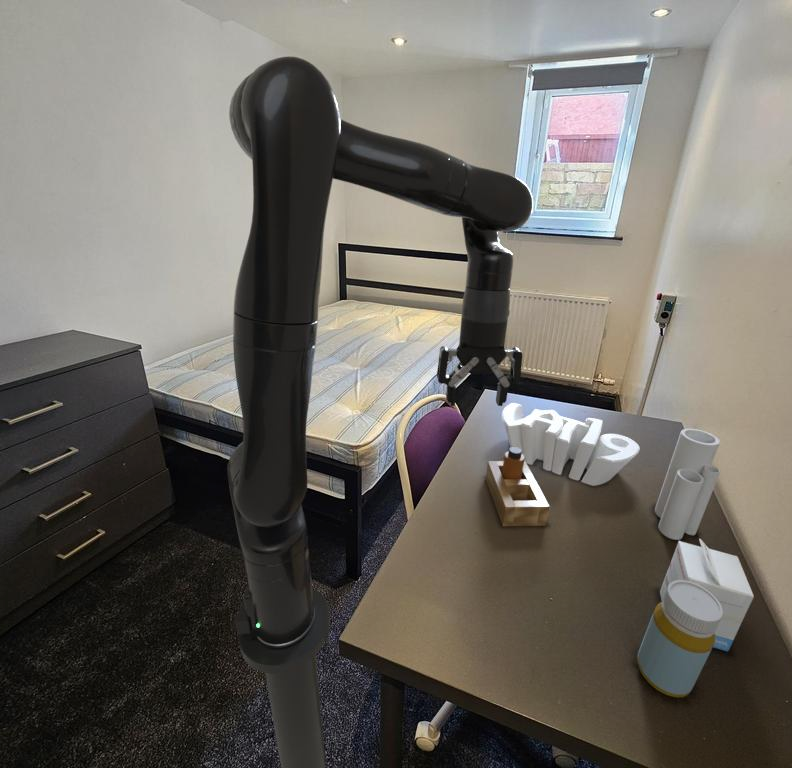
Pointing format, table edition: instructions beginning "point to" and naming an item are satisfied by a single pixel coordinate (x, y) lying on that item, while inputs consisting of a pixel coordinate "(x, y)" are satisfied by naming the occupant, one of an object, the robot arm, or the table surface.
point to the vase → (688, 484)
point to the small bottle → (513, 463)
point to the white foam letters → (568, 443)
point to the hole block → (517, 497)
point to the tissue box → (714, 584)
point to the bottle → (679, 638)
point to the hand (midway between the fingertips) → (475, 404)
